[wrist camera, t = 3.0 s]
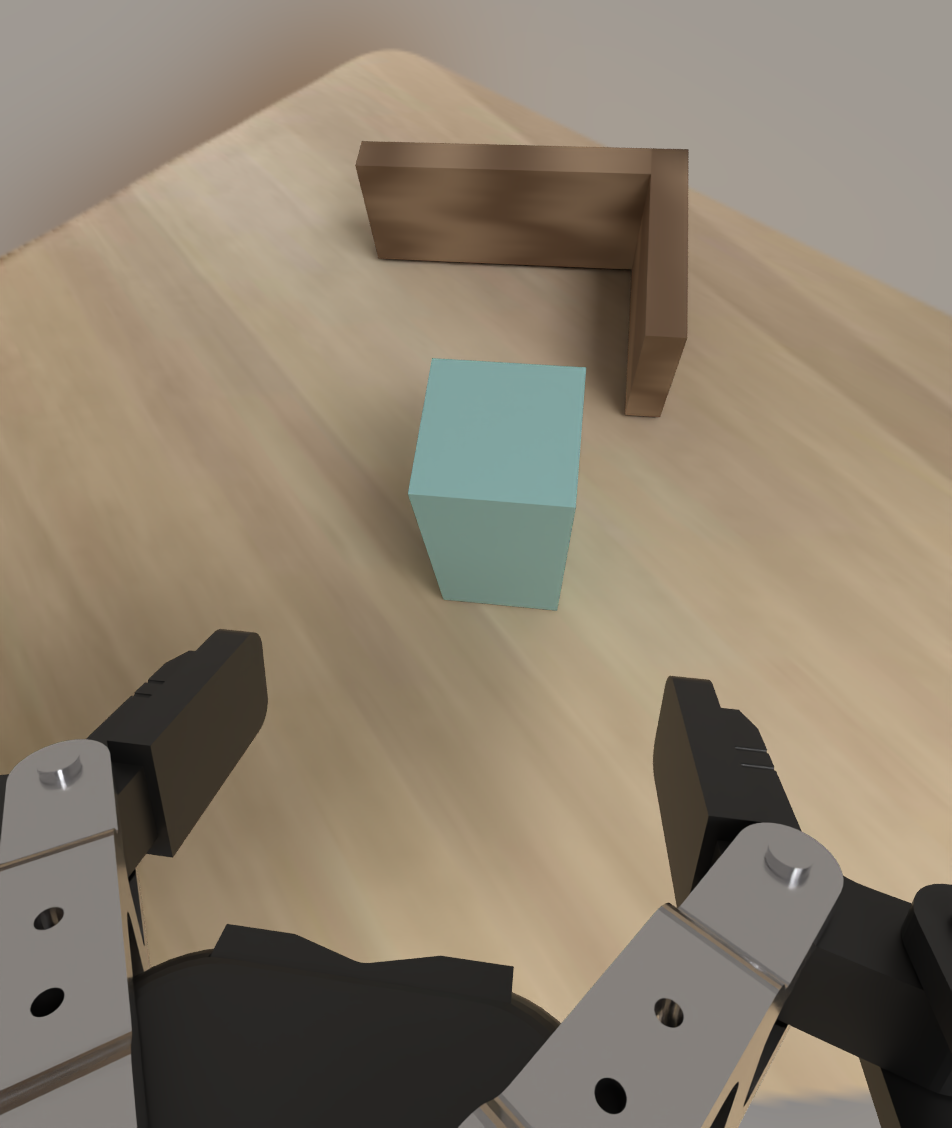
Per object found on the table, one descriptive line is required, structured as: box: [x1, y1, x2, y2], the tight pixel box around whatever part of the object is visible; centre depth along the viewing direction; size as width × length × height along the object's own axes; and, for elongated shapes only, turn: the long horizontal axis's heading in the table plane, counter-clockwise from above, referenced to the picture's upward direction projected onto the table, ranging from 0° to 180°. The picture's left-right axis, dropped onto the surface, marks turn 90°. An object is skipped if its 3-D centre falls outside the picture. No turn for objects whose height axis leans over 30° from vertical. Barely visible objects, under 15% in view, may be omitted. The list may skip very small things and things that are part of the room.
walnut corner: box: [355, 141, 688, 417], centre depth 29 cm, size 14×10×5 cm
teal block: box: [408, 358, 586, 610], centre depth 22 cm, size 4×4×9 cm
